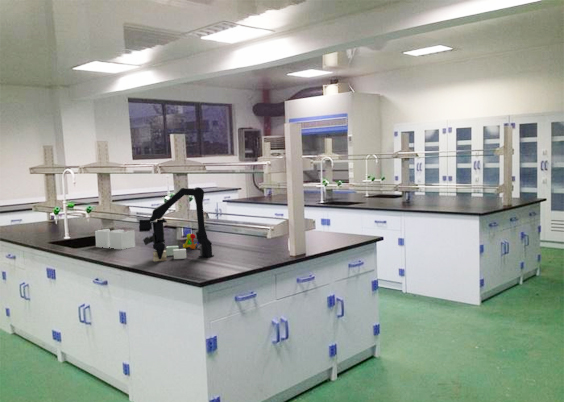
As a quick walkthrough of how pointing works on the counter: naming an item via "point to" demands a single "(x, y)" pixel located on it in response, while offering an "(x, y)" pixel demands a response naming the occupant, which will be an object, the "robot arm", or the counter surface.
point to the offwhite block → (179, 253)
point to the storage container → (115, 239)
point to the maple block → (155, 256)
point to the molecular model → (187, 244)
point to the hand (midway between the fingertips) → (160, 258)
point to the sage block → (170, 250)
